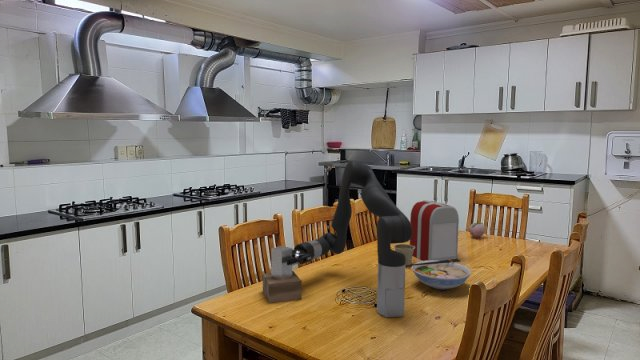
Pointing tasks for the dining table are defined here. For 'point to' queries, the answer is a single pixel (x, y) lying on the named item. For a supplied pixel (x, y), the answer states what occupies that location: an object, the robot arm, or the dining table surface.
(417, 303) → the dining table surface
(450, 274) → the ramen bowl
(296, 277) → the walnut box
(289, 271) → the steel tea tin
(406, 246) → the flower pot
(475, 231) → the decorative fruit
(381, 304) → the robot arm
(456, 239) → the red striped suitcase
